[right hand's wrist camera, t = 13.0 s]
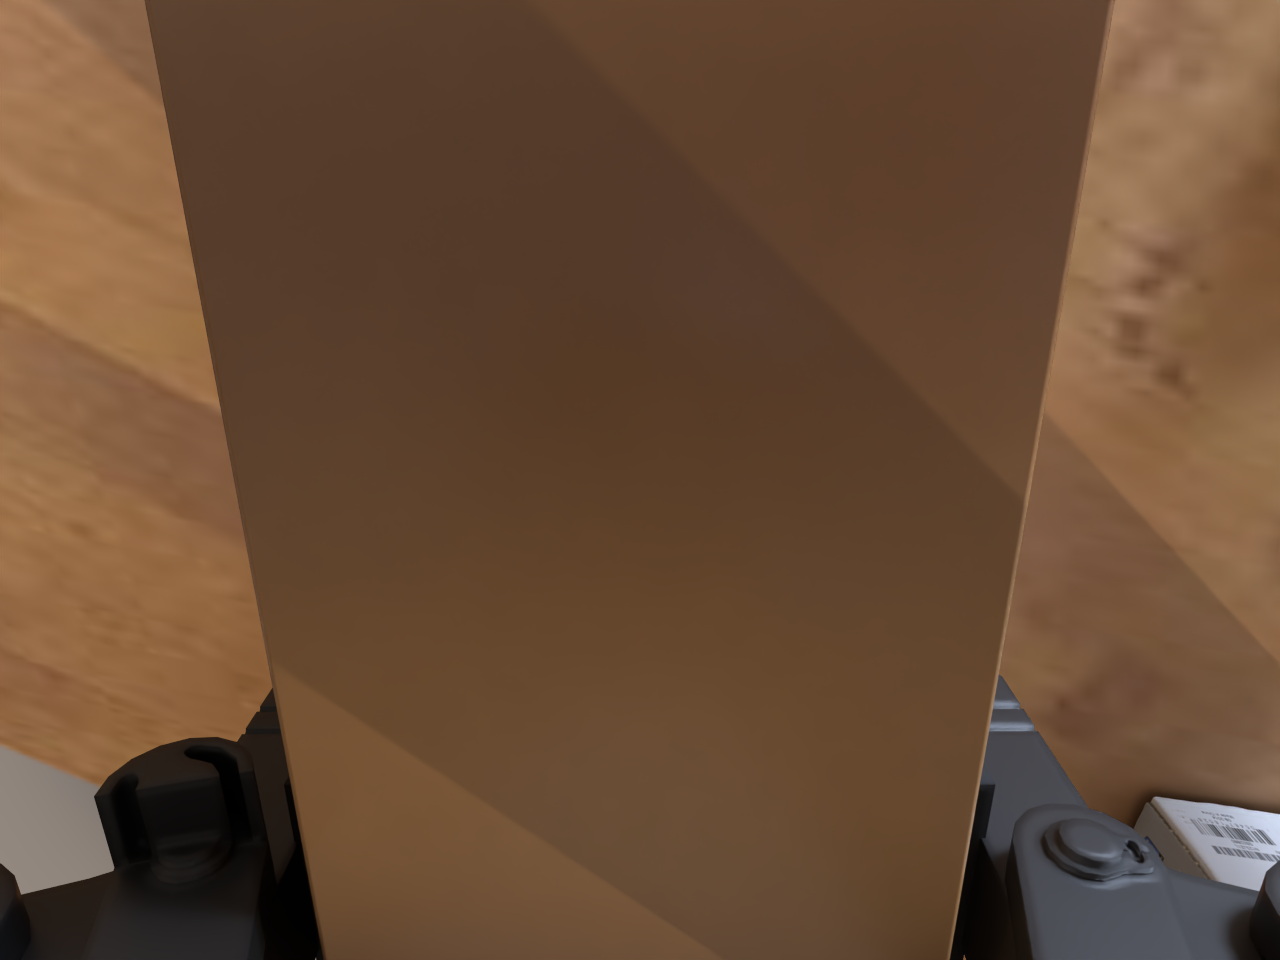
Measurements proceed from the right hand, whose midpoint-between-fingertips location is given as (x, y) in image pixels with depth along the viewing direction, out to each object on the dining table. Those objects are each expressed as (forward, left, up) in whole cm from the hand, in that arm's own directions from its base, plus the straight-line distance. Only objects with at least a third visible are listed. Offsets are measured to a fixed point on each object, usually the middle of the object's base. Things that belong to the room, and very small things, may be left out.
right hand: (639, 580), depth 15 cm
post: (-14, -15, 0) cm, 21 cm away
